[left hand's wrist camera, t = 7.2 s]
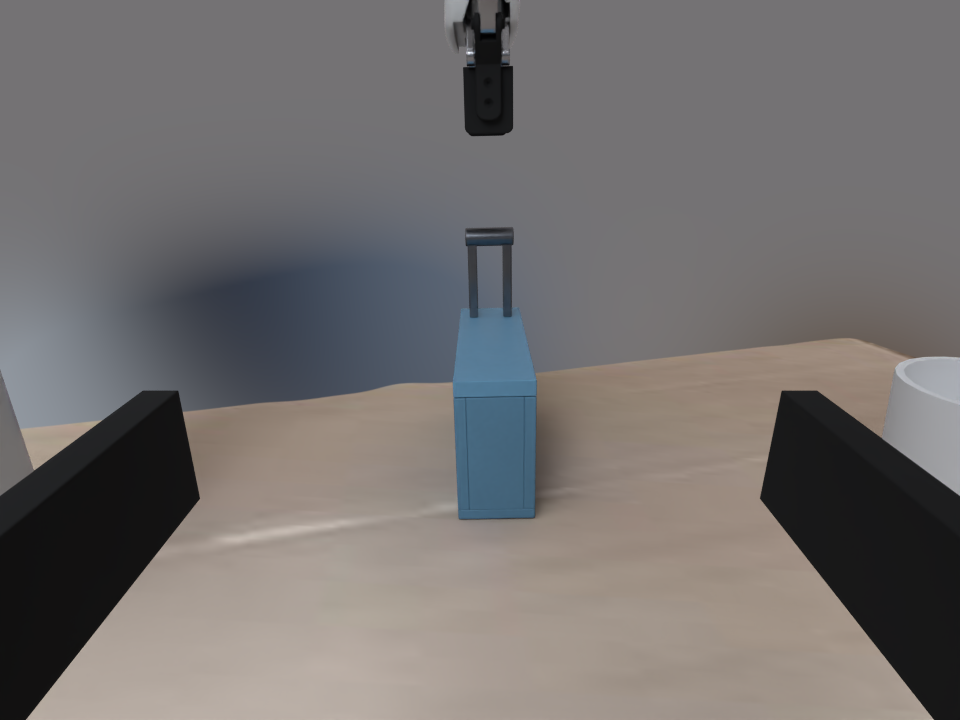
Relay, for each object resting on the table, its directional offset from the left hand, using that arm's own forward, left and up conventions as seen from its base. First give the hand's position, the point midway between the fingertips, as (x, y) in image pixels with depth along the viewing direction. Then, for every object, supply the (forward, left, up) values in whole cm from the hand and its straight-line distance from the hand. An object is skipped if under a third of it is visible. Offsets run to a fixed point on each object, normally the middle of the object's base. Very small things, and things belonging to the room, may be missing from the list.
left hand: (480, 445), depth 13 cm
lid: (+2, -29, -8) cm, 31 cm away
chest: (+2, -29, -17) cm, 34 cm away
